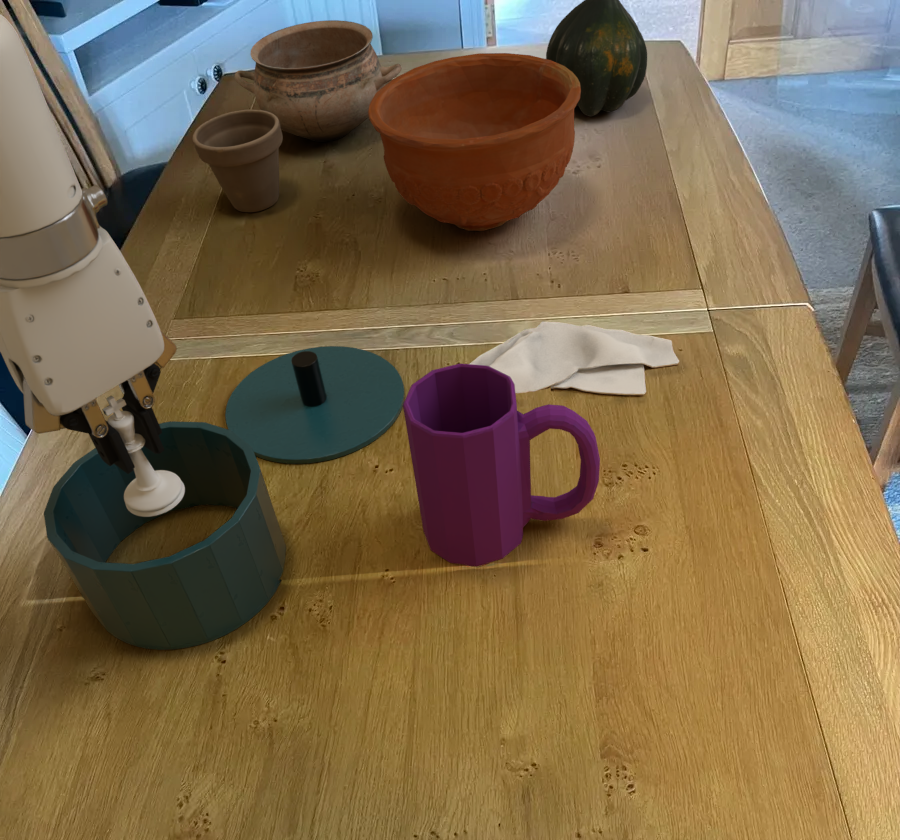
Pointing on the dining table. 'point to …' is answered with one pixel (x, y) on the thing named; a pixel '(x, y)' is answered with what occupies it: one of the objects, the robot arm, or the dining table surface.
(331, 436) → the lid
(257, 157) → the flower pot
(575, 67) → the squash
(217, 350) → the dining table surface
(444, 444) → the mug
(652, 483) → the dining table surface
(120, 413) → the chess piece
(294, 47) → the cooking pot
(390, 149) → the bowl
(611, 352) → the cloth
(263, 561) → the pot
